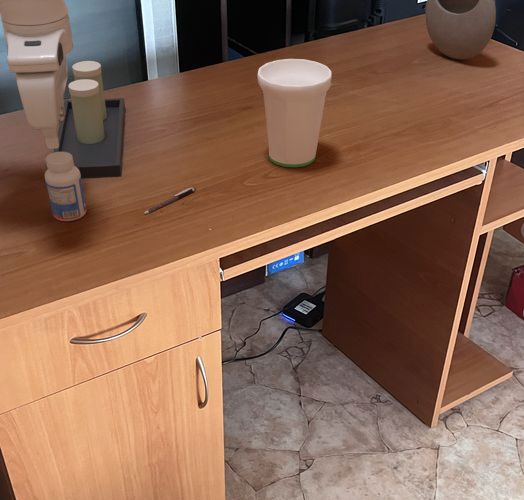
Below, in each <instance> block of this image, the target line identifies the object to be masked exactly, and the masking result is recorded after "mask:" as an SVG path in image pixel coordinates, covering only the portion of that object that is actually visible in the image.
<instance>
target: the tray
mask: <svg viewBox="0 0 524 500" xmlns="http://www.w3.org/2000/svg"><path fill="white" fill-rule="evenodd" d="M125 104H126V103H125V97H116V98H105V106H106V113H107V118H106V119H105V120H103V127H104V134H105V138H104V140H102V141H101V142H98V143H94V144H84V143H81V142H79V141H78V140H77V134H76V128H75V121H74V115H73V109H72V102H71V99H64V110H65V118H64V120H63V121H59V123H58V128H57V133H58V134H59V140H60V144H59V148H57V149H53V153H55V152H68V153H70V154H71V155H72V157H73V162H74V166H76V167H77V168H78V169H79V171H80V175H81V179H90V178H91V179H93V178H112V177H122V169H123V168H122V167H123V150H124V134H125V115H126V105H125Z"/></svg>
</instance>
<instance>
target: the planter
mask: <svg viewBox="0 0 524 500" xmlns="http://www.w3.org/2000/svg"><path fill="white" fill-rule="evenodd" d="M496 18H497V9H496V1H495V0H426V3H425V25H426V29H427V32H428V35H429V38H430V40H431V42H432V43H433V45H434V47H435V48H436V49H437V50H438V51H439V52H440V53H441V54H443V55H445V56H446V57H448V58H450V59H452V60H453V59H454V60H460V61H461V60H463V61H464V60H469V59H471V58H474V57H476V56H477V55H479V54H480V53H482V52H483V50H484V49H486V47H487V46H488V45H489V43H490V42H491V39H492V36H493V33H494V30H495V25H496Z"/></svg>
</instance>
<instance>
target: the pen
mask: <svg viewBox="0 0 524 500" xmlns="http://www.w3.org/2000/svg"><path fill="white" fill-rule="evenodd" d="M196 190H197V188H196V187H189V188H187V189H184V190H182V191H180V192H178V193H176V194H175V195H173V196H172V197H170V198H168V199H166V200H164V201H162V202H160V203H158V204H156V205H154V206H152V207H149V208H148V209H146V210H145V211H144V212H143V215H149V214H151V213H154V212H155V211H158V210H159V209H162V208H164V207H166V206H168V205H171V204H172V203H174V202H176V201H179V200H180V199H182V198H185V197H187V196H188V195H190V194H192V193H194V192H195V191H196Z"/></svg>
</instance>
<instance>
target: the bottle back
mask: <svg viewBox="0 0 524 500" xmlns="http://www.w3.org/2000/svg"><path fill="white" fill-rule="evenodd" d="M71 69H72V74H73V77H74V78H73V79H74V81H76V80H81V79H90V80H94V81H97V82H98V85H99V97H100V104H101V112H102V119H103V120H105V119H106V118H107V113H106V106H105V99H106V97H105V91H104V83H103V75H102V71H103V70H102V65H101V63H100V62H97V61H94V60H84V61H78V62H76V63H74V64H73V65H72V66H71Z"/></svg>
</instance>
